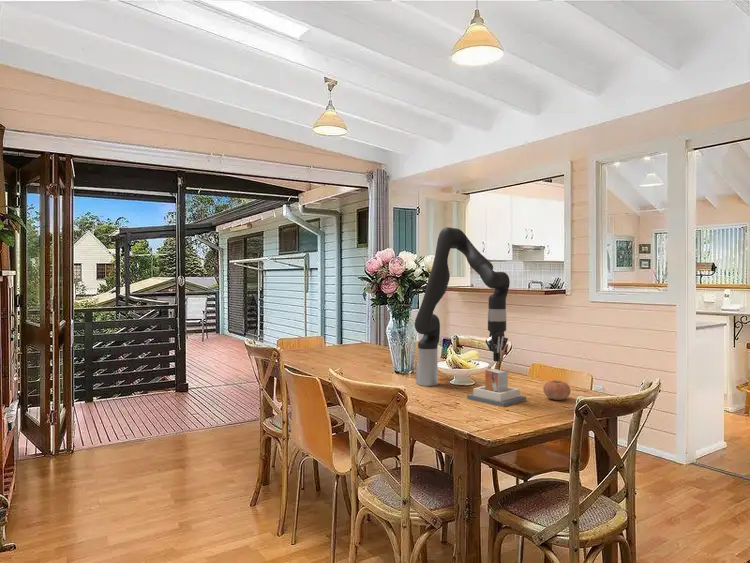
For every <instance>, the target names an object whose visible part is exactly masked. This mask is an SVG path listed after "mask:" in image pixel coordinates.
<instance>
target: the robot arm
mask: <svg viewBox="0 0 750 563" xmlns="http://www.w3.org/2000/svg"><path fill="white" fill-rule="evenodd" d="M451 249H454V250H455V249H456V250H457V251H459V252H461V253H462V254H463V255H464V256H465V259H466V260H467V263H468V265H469V266H470V267H471V268H472V269H473V270H474V271H475V272H476V273H477V274H478V275H479V277H480V279H481V280H482V282H483V284H484V285H485V286H487V287H488V288H489V289H493V290H494V292H493V293H492V294H490V295H489V297H488V311H487V331H488V332H489V336H488V337H489V338H488V339H485V344H486V345H487V348H488V350H489V351H490V352H492V354H493V356H492V357H493V358H492V359H493V362H496V363H497V362H500V361H501V352H502V351H504V350H505V348H506V345H507V343H508V340H509V338H508V337H505V332H507V296H508V292H509V289H510V283H511V282H510V280H511V279H510V277H509V275H508V274H507V272H504V271H495V270H493V269H494V265H493V264H492V262H491V261H490V260H488V259H487V258H486V257H485V256H484V255H483V254H482V253H481V252H480V251H479V250H478V249H477V248H476V247H475V246H474V244H473V243H472V242H471V241H470V239H469V238H468V237H467V235H466V234H465V233H464V231H462V230H461V229H459V228H454V227H450V226H449V227H443V228H442V229H441V230H440V232H439V235H438V238H437V242H436V249H435V254H434V259H433V263H432V266H431V271H430V274H429V275H428V276H429V277H428V279H427V283H426V284H427V285H426V287H425V288H426V289H425V291H424V295H423V298H422V301H421V304H420V307H419V308H418V311H417V314H416V317H415V321H414V329H415V331H416V332H417V334H420V335H422V338H421V339H420V340H418V343H417V363H416V364H415V365H416V367H415V369H416V370H415V372H416V377H415V378H416V379H415V381H416V382H415V383H416V384H417V385H419V386H424V387H434V386H437V385H438V360H439V359H438V357H439V356H438V346H439V343H440V338H441V337H440V336H441V334H440V333H441V332H440V331H441V322H440V319H439V317H438V316H437V315H436V314H434V311H435V308H436V307H437V305H438V304H439V302H440V301H441V299H443V297H444V295H445V294H446V291H447V289H448V286H449V283H450V279H451V278H450V275H451V274H450V268H449V264H448V259H449V255H450V250H451Z"/></svg>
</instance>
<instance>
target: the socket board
mask: <svg viewBox="0 0 750 563" xmlns="http://www.w3.org/2000/svg"><path fill="white" fill-rule="evenodd" d="M472 391H473V392H472V393H469V394H467V395H466V399H468V400H472V401H475V402H476V401H477V402H481V403H485V404H489V405H494V406H497V405H498V407H502V406H503V408H504V406H505V407H507V406H512V405H515V403H516V404H519V403H522V401H523V402H526V401H527V396H525V395H523V396H522V395H521V389H520V388H516V387H511V386H508V391H505V392H501V393H498V392H493V391H488V390H485V385H482V386H477V387H475V388H474V387H473V390H472ZM525 400H526V401H525ZM518 402H519V403H518ZM511 404H512V405H511Z"/></svg>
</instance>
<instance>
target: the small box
mask: <svg viewBox="0 0 750 563" xmlns="http://www.w3.org/2000/svg"><path fill="white" fill-rule="evenodd" d="M484 376H485V377H484V379H485V380H484V381H485V382H484V386H485V390H488V391H493V392H498V393H501V392H505V391H508V387H509V383H508V382H509V372H508V371H504V370H500V369H497V368H493V369H492V368H491V369H485V374H484Z"/></svg>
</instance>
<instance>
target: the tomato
mask: <svg viewBox="0 0 750 563" xmlns="http://www.w3.org/2000/svg"><path fill="white" fill-rule="evenodd" d="M542 390H543V393H544V395H545V396H546V397H547V398H549V399H550V400H553V401H564V400H566V399H568V398H569V396H570V395H571V387H570V385H569V384H568V383H567V382H564V381H562V380H548V381H547V382H545V384H544V386H543V389H542Z"/></svg>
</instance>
